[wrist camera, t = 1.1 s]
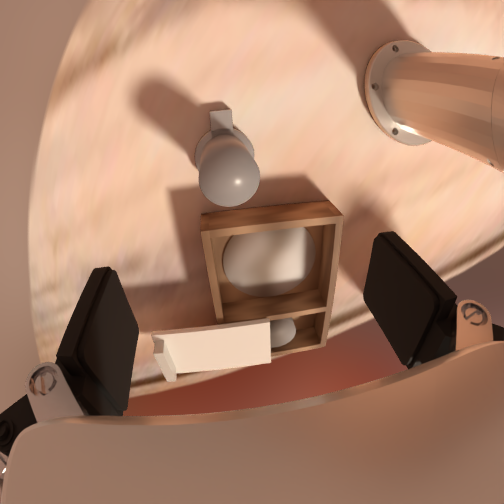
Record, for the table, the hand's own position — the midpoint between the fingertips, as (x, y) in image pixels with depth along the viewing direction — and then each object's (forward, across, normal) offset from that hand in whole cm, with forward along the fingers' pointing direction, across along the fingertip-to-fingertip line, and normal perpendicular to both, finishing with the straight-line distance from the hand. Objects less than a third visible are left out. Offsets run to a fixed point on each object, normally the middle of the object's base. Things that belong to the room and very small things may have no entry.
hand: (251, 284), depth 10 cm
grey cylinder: (+20, 0, 0) cm, 20 cm away
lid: (+16, +4, +22) cm, 27 cm away
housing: (+20, -4, +16) cm, 26 cm away
